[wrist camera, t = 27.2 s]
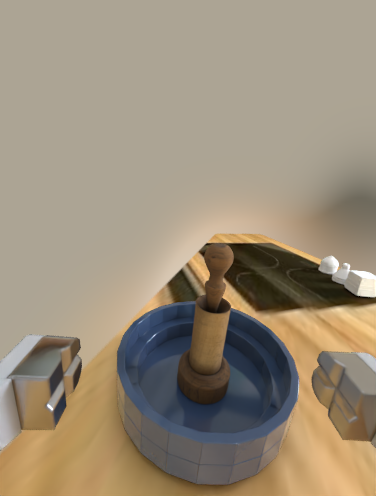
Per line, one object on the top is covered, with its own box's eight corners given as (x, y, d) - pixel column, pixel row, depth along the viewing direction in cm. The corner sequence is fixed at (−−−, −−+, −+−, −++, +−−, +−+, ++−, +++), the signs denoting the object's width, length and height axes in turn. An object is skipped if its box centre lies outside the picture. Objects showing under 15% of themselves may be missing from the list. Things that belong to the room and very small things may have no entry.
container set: (375, 299, 57) (383, 279, 55) (355, 297, 57) (362, 277, 55) (330, 268, 76) (335, 253, 74) (315, 267, 76) (319, 252, 74)
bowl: (87, 489, 18) (83, 439, 17) (136, 328, 38) (137, 297, 36) (327, 494, 19) (348, 447, 17) (254, 335, 39) (260, 305, 37)
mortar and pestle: (236, 401, 26) (265, 256, 20) (181, 408, 24) (196, 254, 19) (218, 357, 32) (237, 237, 27) (174, 361, 31) (184, 235, 25)
